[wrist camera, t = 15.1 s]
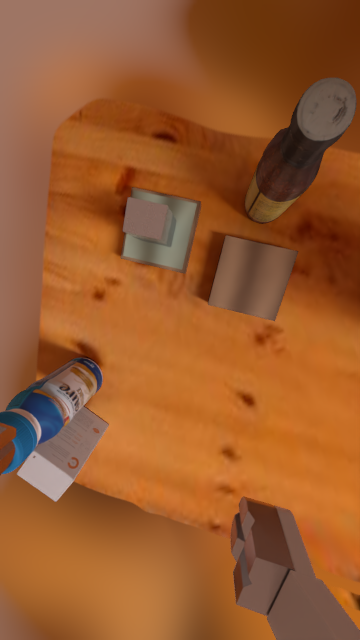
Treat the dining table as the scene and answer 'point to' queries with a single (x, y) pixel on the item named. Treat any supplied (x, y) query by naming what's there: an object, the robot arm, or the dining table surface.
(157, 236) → the housing
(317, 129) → the sauce bottle
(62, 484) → the small box
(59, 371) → the beverage bottle
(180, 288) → the dining table surface
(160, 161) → the dining table surface
